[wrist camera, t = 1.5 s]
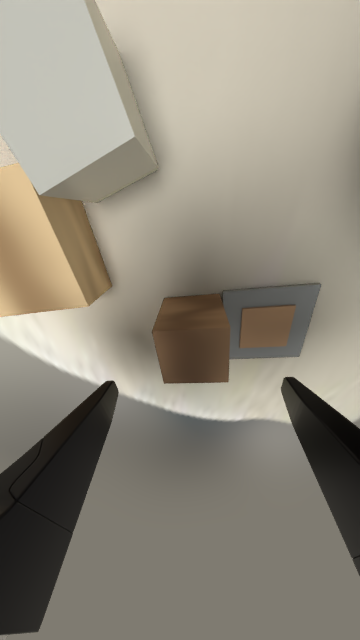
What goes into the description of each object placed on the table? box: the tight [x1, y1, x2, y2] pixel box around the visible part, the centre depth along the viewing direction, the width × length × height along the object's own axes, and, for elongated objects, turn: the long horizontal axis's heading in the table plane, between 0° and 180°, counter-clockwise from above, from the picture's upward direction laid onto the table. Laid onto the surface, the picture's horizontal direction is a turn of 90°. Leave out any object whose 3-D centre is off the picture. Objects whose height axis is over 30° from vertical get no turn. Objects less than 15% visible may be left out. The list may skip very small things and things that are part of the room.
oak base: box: [0, 163, 112, 317], centre depth 11 cm, size 7×7×4 cm
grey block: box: [0, 0, 159, 203], centre depth 8 cm, size 4×4×5 cm
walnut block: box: [152, 294, 230, 383], centre depth 13 cm, size 4×4×5 cm
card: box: [223, 283, 321, 359], centre depth 15 cm, size 7×7×1 cm
